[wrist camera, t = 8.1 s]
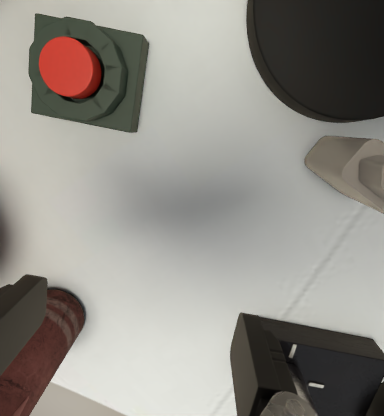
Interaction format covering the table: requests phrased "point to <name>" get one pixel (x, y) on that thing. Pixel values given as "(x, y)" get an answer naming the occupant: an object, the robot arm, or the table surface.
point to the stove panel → (332, 366)
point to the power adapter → (351, 167)
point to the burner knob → (301, 385)
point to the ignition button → (69, 68)
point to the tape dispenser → (377, 403)
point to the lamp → (321, 55)
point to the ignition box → (110, 80)
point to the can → (41, 355)
